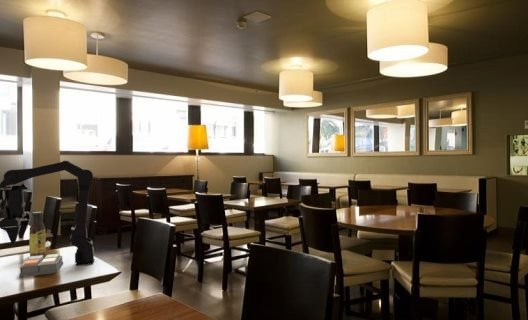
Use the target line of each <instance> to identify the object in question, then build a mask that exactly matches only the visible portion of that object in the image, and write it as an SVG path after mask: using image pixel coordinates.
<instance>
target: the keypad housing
mask: <svg viewBox="0 0 528 320" xmlns="http://www.w3.org/2000/svg"><path fill="white" fill-rule="evenodd" d="M45 257H46V256H45ZM45 257H44V256H43V260H44V259H45ZM43 260H42V261H43ZM42 261H40V263H39V264H38V265H35V266H25V267H23V264H22V265H21V266H20V269H19V270H20V273H19V278H21V277H31V276H32V277H33V276H38V275H39V276H41V275H49V274H58V273H59V272H60V271H59V270H61V268H62V266H63V265H64V261H63V255H60V258H59V259H57V262H56V263H55V264H46V265H41V262H42Z"/></svg>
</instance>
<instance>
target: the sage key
mask: <svg viewBox="0 0 528 320" xmlns="http://www.w3.org/2000/svg"><path fill="white" fill-rule="evenodd" d="M60 256H61V255H60V253H54V254H53V253H52V254H47V255H46V256H45V259H47V258H57V259H59V258H60Z"/></svg>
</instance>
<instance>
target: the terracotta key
mask: <svg viewBox="0 0 528 320" xmlns="http://www.w3.org/2000/svg"><path fill="white" fill-rule="evenodd" d="M39 263H40V259H36V260H28V259H26V260H25V261H24V262H23V264H22V265H23V267H25V266H35V265H38V264H39Z"/></svg>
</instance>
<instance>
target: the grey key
mask: <svg viewBox="0 0 528 320" xmlns="http://www.w3.org/2000/svg"><path fill="white" fill-rule="evenodd" d="M43 257H44V256H43V255H40V256H31V257H30V256H29V258H28V259H27V260H36V259H40V261H42V260H43Z"/></svg>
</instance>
